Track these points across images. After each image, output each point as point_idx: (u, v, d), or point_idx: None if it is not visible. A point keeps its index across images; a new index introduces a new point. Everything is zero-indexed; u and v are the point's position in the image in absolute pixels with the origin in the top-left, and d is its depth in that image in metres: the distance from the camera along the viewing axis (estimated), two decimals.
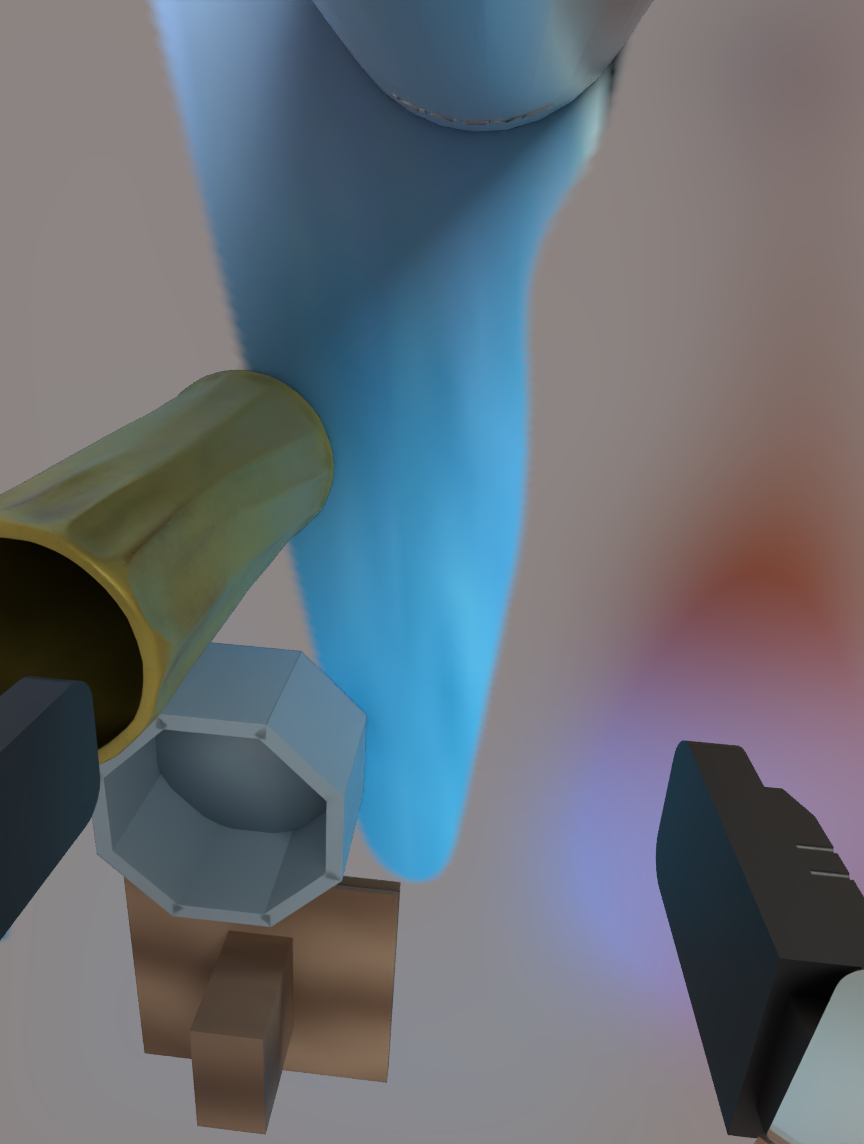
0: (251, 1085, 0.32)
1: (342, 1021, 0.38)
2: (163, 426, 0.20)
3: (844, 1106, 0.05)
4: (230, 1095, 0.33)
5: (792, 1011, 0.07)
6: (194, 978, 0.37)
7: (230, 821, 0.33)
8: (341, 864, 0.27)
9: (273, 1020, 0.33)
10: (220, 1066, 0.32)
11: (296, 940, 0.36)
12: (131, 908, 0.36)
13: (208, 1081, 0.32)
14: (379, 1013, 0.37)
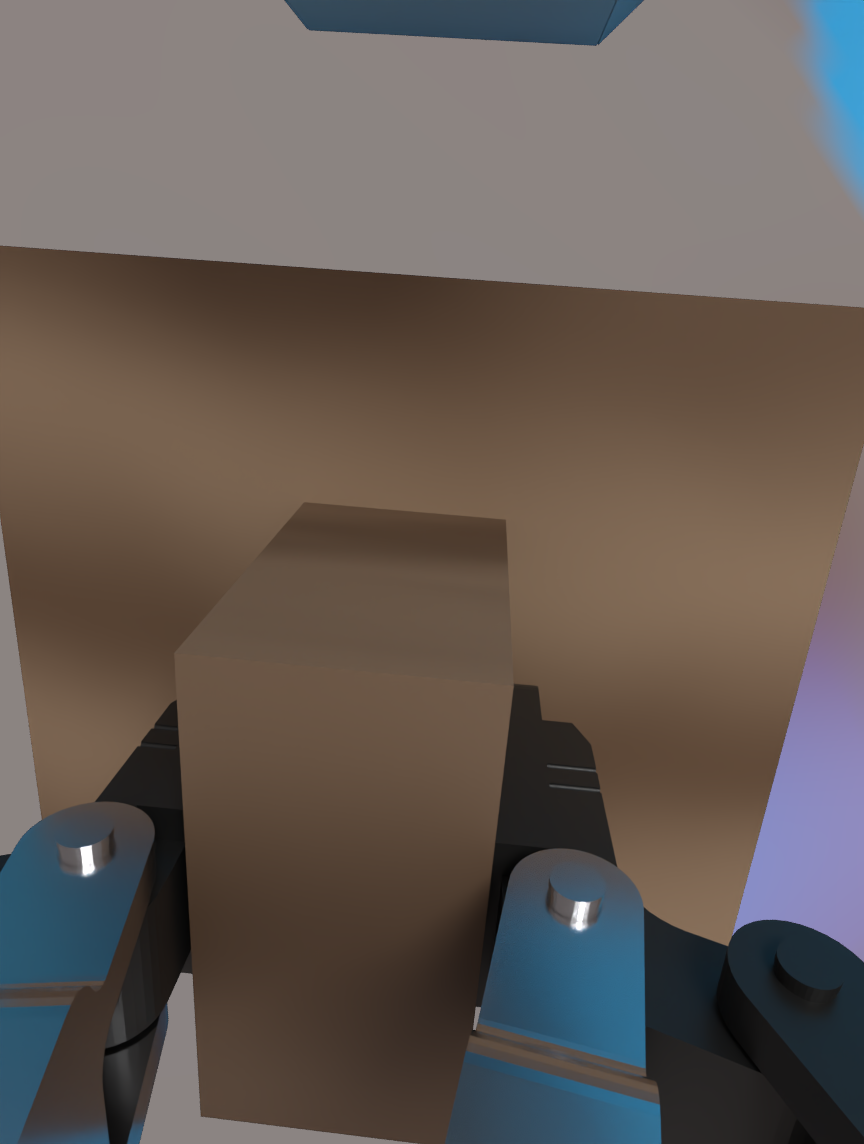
0: (430, 934, 0.08)
1: (617, 824, 0.13)
2: None
3: (530, 977, 0.06)
4: (339, 983, 0.08)
5: (501, 888, 0.08)
6: None
7: None
8: None
9: None
10: (304, 842, 0.07)
11: (514, 529, 0.11)
12: None
13: (249, 923, 0.08)
14: (734, 793, 0.13)
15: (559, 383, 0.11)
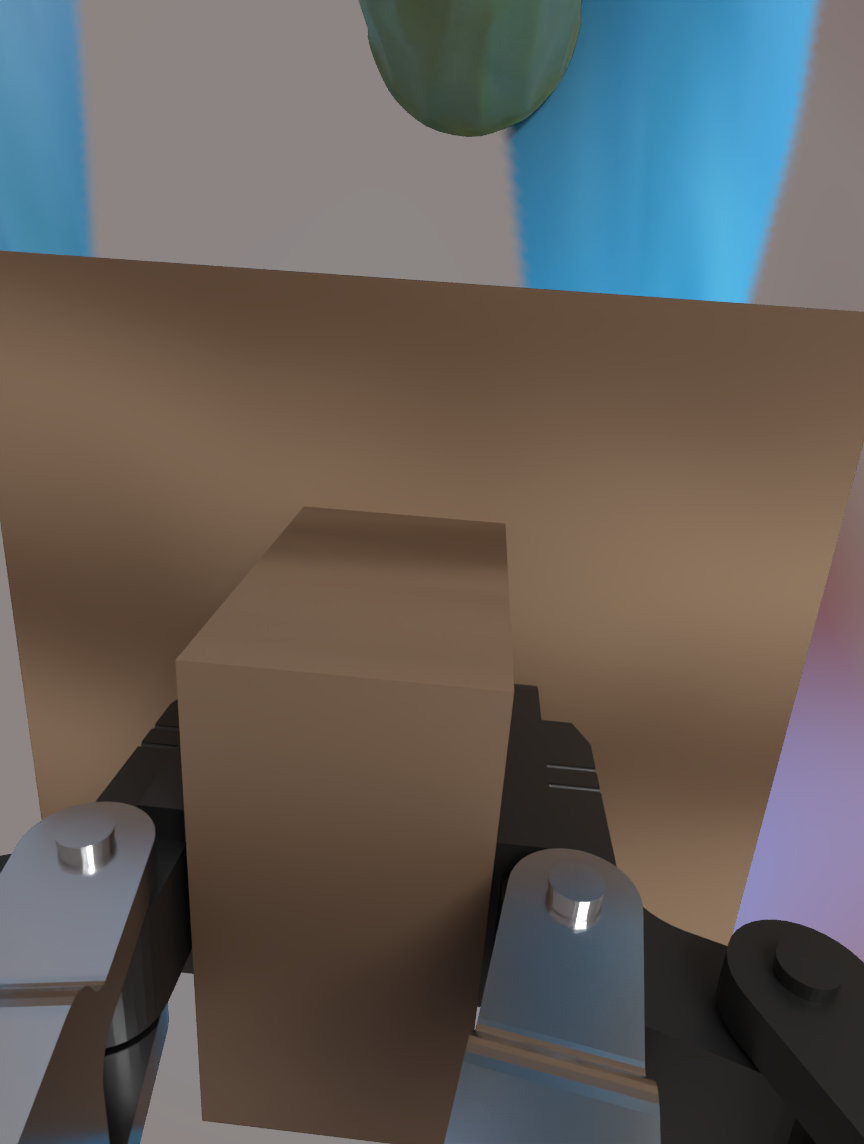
0: (431, 939, 0.08)
1: (617, 827, 0.13)
2: None
3: (530, 977, 0.06)
4: (340, 989, 0.08)
5: (500, 888, 0.08)
6: None
7: None
8: None
9: None
10: (304, 848, 0.07)
11: (513, 533, 0.11)
12: None
13: (250, 929, 0.08)
14: (734, 795, 0.13)
15: (558, 387, 0.11)
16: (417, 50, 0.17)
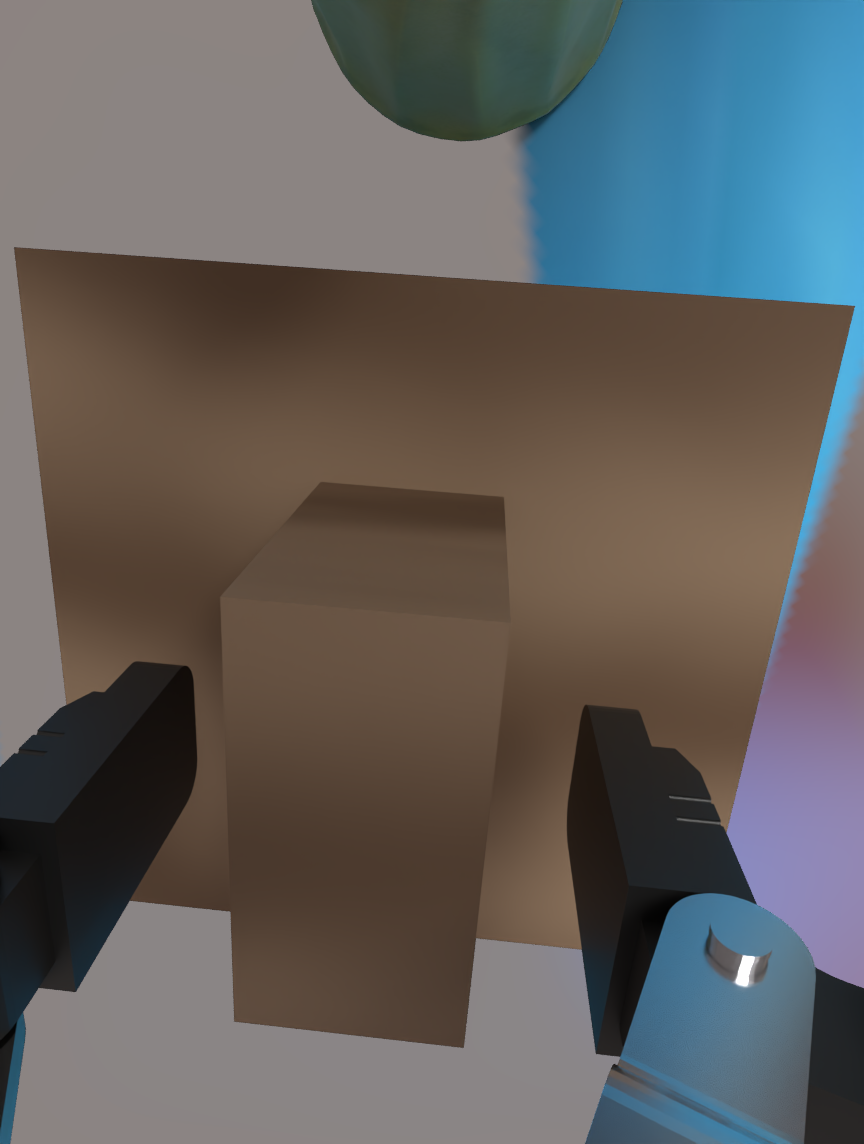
0: (439, 848, 0.09)
1: None
2: None
3: (681, 1023, 0.06)
4: (358, 894, 0.09)
5: (641, 934, 0.07)
6: (218, 657, 0.14)
7: None
8: None
9: None
10: (329, 765, 0.09)
11: (511, 505, 0.13)
12: (43, 416, 0.13)
13: (280, 839, 0.09)
14: (714, 750, 0.14)
15: (551, 372, 0.12)
16: (365, 7, 0.10)
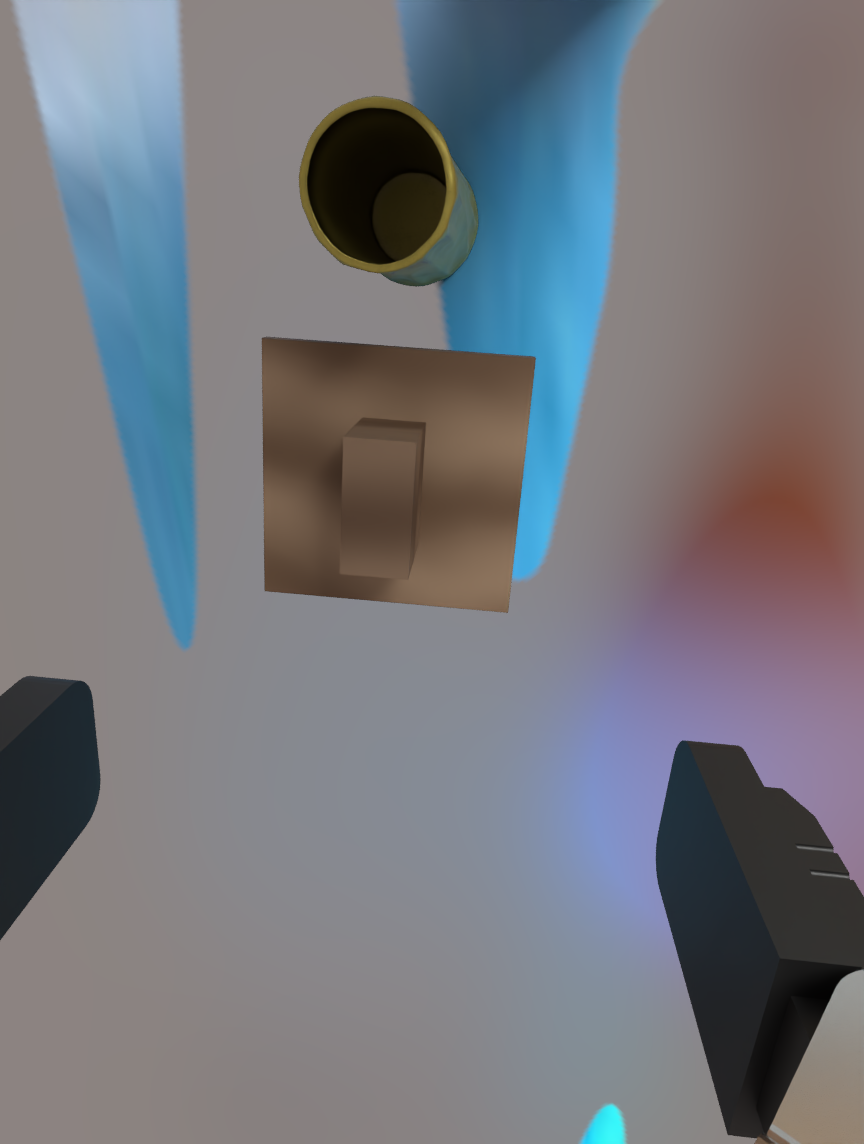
0: (399, 509, 0.33)
1: (468, 532, 0.38)
2: None
3: (844, 1106, 0.05)
4: (377, 526, 0.33)
5: (792, 1010, 0.07)
6: (323, 484, 0.38)
7: None
8: None
9: (418, 457, 0.33)
10: (370, 485, 0.32)
11: (428, 425, 0.36)
12: (266, 394, 0.36)
13: (356, 508, 0.33)
14: (506, 518, 0.37)
15: (440, 379, 0.35)
16: None
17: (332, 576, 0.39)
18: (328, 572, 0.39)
